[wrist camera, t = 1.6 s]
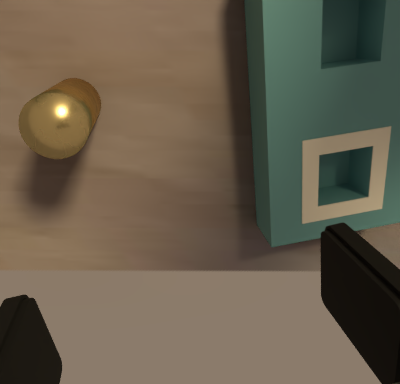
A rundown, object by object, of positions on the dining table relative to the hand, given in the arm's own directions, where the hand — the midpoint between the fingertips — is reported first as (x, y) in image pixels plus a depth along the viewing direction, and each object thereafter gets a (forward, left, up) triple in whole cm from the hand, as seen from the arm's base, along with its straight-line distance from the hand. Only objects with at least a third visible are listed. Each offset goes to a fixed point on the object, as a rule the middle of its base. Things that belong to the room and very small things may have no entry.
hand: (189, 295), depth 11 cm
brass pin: (-3, -6, -23) cm, 24 cm away
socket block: (0, +16, -23) cm, 28 cm away
